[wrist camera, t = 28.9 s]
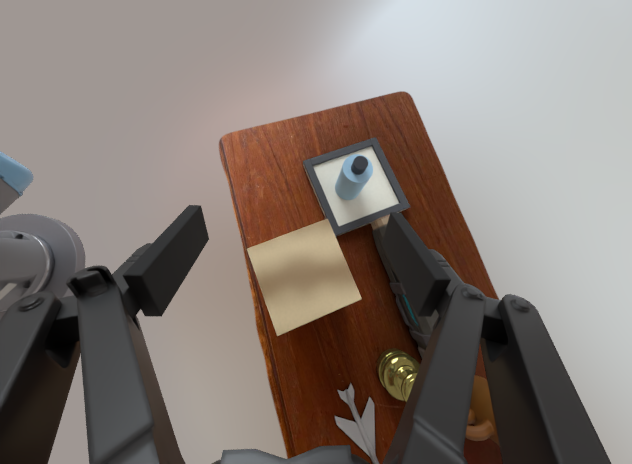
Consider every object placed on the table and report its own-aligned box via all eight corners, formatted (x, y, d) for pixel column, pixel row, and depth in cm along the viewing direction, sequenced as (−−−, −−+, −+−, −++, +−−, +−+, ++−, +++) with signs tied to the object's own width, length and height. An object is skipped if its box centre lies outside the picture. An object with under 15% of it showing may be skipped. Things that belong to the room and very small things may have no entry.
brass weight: (370, 380, 43) (390, 410, 33) (382, 341, 44) (405, 359, 35) (406, 396, 43) (437, 430, 33) (417, 356, 44) (450, 378, 35)
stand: (264, 259, 46) (246, 248, 30) (318, 238, 48) (327, 218, 32) (285, 316, 44) (277, 336, 28) (340, 292, 46) (362, 299, 30)
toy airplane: (364, 493, 39) (368, 506, 37) (316, 372, 42) (317, 377, 40) (402, 470, 40) (408, 481, 38) (352, 353, 44) (355, 357, 41)
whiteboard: (302, 165, 51) (302, 160, 49) (373, 141, 54) (375, 136, 52) (333, 237, 48) (334, 236, 46) (406, 209, 51) (410, 206, 49)
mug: (435, 428, 42) (476, 473, 32) (425, 380, 43) (462, 409, 34) (498, 416, 43) (556, 456, 33) (486, 370, 45) (539, 395, 35)
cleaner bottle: (331, 180, 49) (339, 153, 39) (354, 172, 50) (368, 143, 39) (341, 203, 48) (352, 182, 38) (364, 195, 49) (382, 171, 39)
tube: (387, 222, 53) (457, 356, 44) (360, 233, 53) (424, 368, 44) (393, 206, 42) (486, 378, 33) (360, 220, 43) (442, 393, 34)
